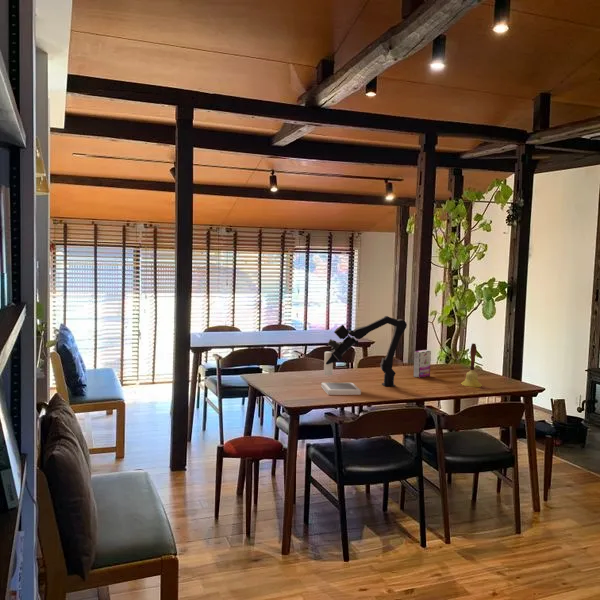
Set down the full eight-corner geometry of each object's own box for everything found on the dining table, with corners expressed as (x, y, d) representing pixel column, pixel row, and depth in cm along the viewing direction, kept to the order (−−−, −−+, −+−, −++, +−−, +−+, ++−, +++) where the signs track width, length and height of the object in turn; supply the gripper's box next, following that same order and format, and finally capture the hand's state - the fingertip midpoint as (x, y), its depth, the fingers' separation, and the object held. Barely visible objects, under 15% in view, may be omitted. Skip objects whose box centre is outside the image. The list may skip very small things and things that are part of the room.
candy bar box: (423, 374, 362) (425, 349, 361) (430, 376, 358) (431, 350, 357) (412, 376, 355) (414, 350, 354) (419, 378, 351) (420, 352, 350)
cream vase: (333, 375, 324) (334, 353, 324) (324, 375, 324) (325, 353, 323) (331, 373, 329) (332, 351, 328) (323, 373, 329) (323, 351, 328)
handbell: (479, 388, 328) (481, 345, 326) (458, 385, 334) (460, 343, 333) (484, 384, 338) (486, 343, 337) (463, 381, 345) (466, 341, 343)
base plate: (360, 394, 301) (360, 389, 301) (327, 394, 298) (328, 389, 298) (352, 386, 319) (352, 382, 319) (321, 387, 316) (321, 382, 316)
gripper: (335, 332, 334) (316, 350, 335) (337, 337, 316) (317, 355, 316) (348, 346, 335) (329, 363, 336) (350, 351, 316) (330, 370, 317)
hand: (326, 363), depth 326 cm, fingers closed on cream vase, 5 cm apart
